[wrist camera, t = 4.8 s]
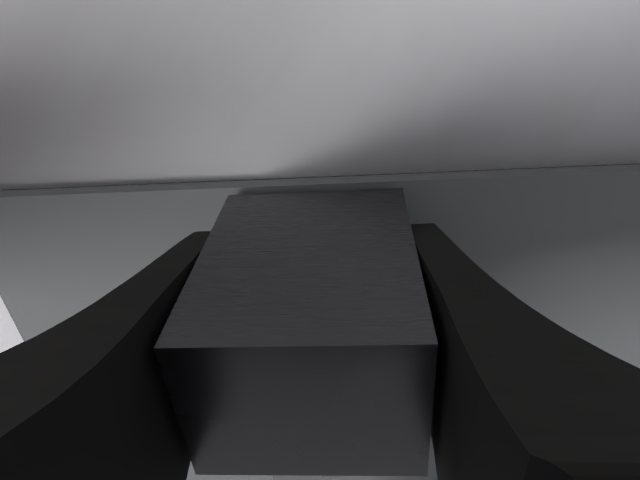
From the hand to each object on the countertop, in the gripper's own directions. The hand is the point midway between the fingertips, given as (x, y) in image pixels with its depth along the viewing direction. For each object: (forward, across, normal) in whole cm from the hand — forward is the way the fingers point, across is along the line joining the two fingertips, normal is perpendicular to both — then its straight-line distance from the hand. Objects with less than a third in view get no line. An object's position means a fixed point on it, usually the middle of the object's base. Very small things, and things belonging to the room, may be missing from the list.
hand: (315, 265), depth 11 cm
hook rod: (+1, 0, +9) cm, 9 cm away
